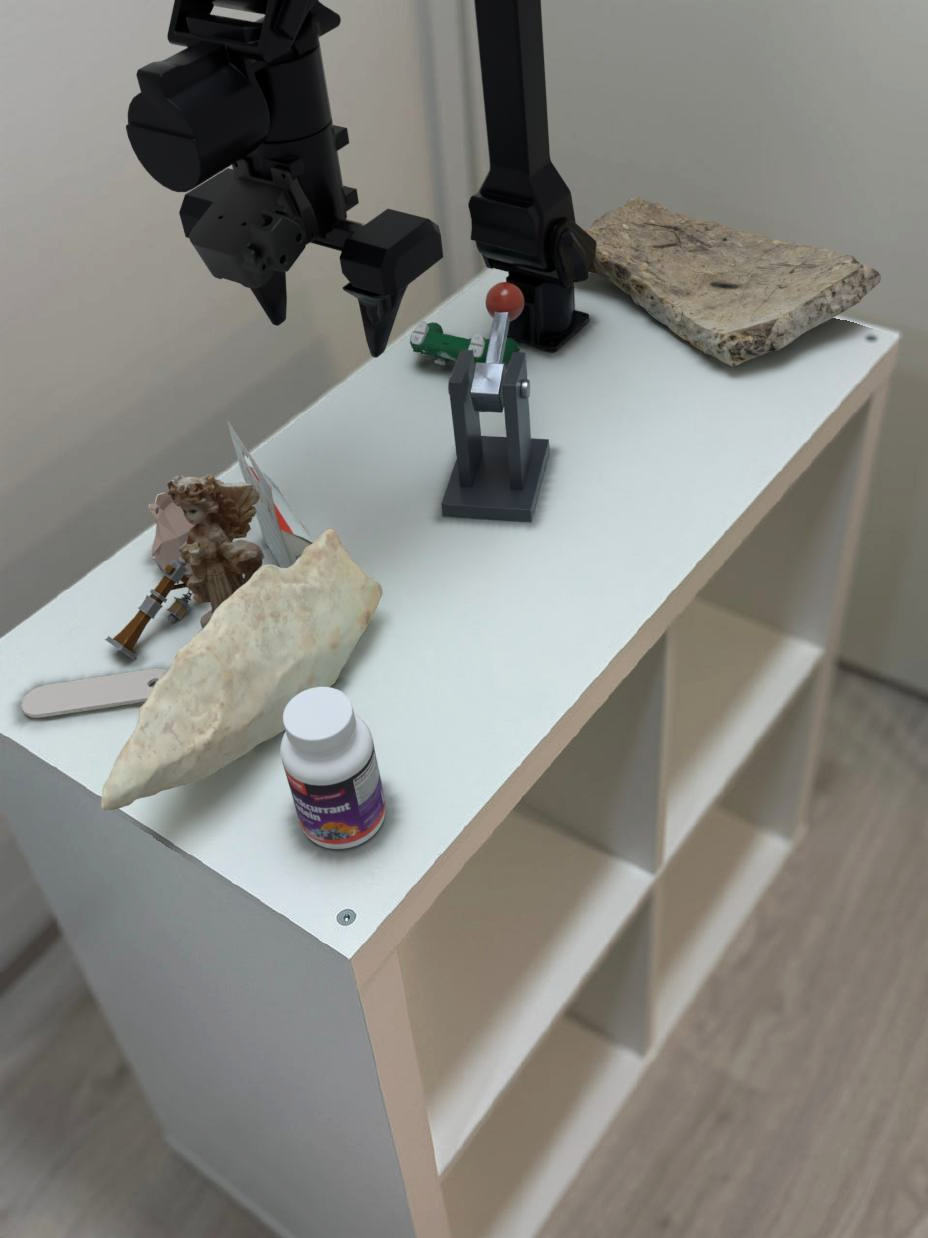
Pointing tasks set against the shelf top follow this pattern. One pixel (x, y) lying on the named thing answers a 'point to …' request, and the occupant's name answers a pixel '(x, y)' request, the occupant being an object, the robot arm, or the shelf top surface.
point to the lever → (495, 348)
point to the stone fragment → (724, 279)
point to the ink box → (273, 511)
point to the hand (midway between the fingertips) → (327, 338)
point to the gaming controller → (453, 344)
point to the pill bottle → (331, 769)
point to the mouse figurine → (169, 531)
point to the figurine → (216, 536)
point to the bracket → (494, 450)
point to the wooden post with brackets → (155, 607)
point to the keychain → (90, 693)
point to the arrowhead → (246, 670)
